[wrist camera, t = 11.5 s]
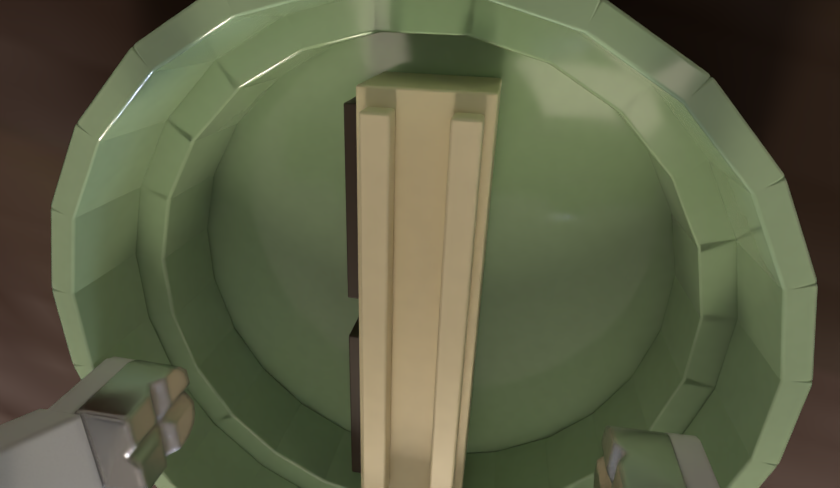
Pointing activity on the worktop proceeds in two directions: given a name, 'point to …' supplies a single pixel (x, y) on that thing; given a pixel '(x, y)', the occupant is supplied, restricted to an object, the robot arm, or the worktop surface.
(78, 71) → the worktop surface
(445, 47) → the bowl
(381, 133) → the grooved wooden strip
